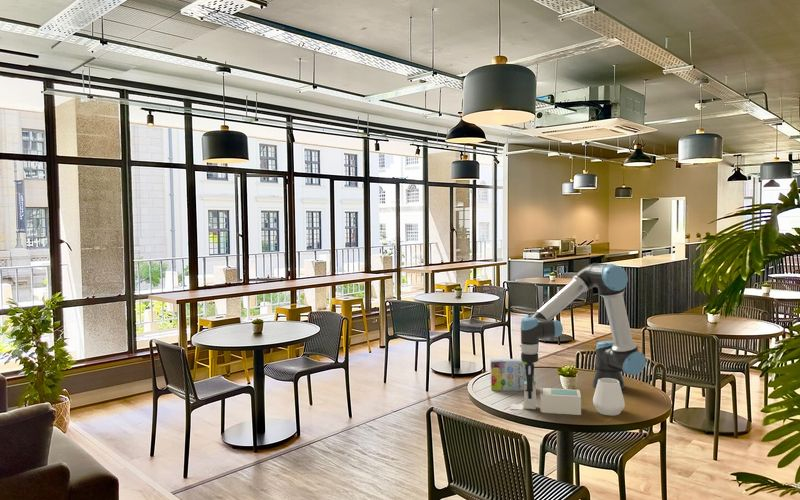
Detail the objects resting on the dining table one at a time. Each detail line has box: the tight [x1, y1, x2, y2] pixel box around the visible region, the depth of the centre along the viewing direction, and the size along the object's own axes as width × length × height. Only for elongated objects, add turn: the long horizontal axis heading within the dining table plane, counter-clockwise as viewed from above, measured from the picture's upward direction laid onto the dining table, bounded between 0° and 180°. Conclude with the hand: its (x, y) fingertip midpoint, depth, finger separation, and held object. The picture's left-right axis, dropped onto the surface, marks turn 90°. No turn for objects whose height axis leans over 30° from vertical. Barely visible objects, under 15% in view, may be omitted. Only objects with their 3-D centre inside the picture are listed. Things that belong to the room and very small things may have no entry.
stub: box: [523, 381, 537, 410], centre depth 251 cm, size 5×4×11 cm
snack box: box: [489, 358, 535, 392], centre depth 279 cm, size 21×6×15 cm, turn 84°
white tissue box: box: [540, 387, 582, 416], centre depth 248 cm, size 17×10×8 cm, turn 76°
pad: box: [509, 403, 524, 411], centre depth 253 cm, size 6×7×1 cm
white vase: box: [592, 378, 626, 416], centre depth 244 cm, size 13×13×14 cm
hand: (530, 403), depth 251 cm, fingers closed on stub, 4 cm apart
